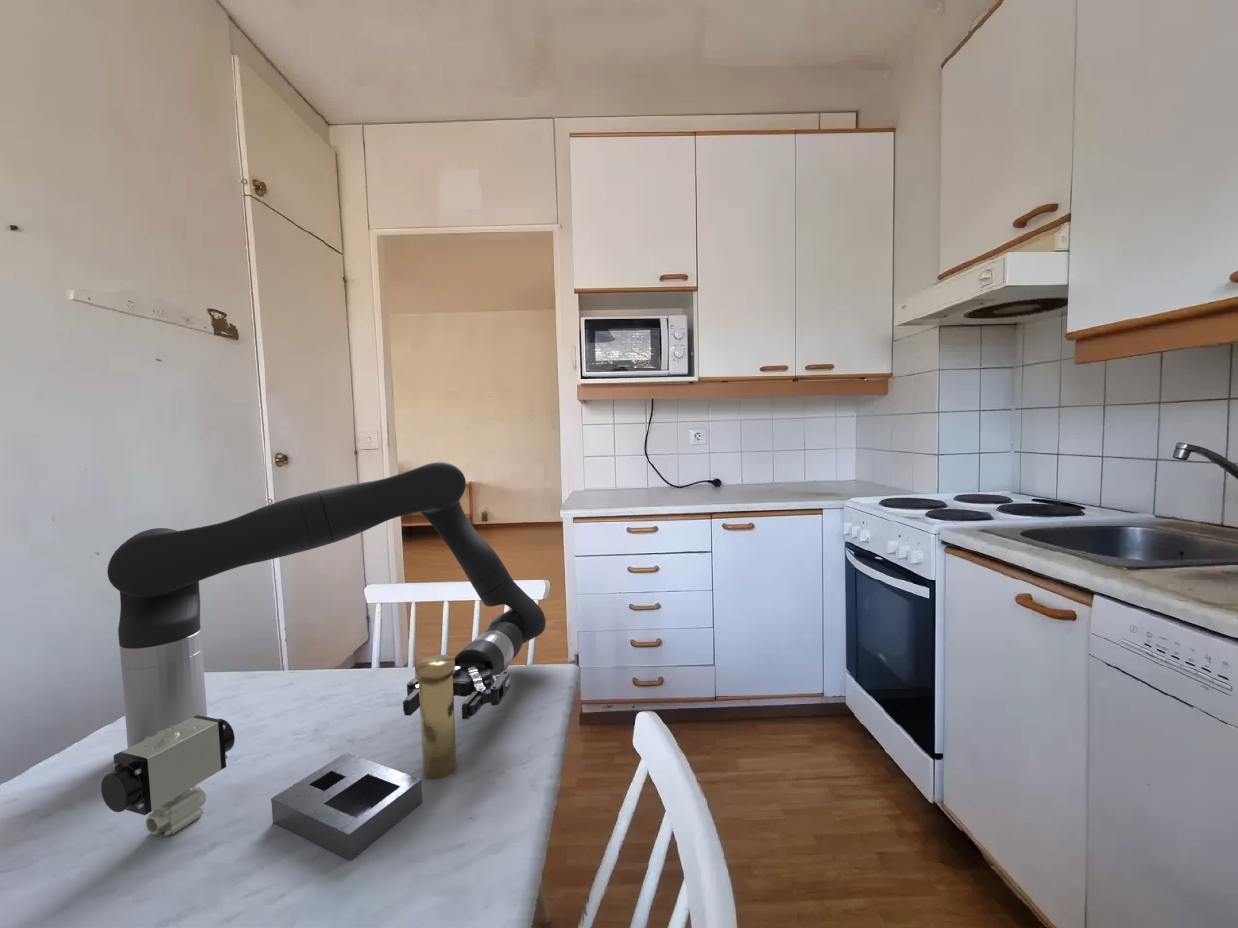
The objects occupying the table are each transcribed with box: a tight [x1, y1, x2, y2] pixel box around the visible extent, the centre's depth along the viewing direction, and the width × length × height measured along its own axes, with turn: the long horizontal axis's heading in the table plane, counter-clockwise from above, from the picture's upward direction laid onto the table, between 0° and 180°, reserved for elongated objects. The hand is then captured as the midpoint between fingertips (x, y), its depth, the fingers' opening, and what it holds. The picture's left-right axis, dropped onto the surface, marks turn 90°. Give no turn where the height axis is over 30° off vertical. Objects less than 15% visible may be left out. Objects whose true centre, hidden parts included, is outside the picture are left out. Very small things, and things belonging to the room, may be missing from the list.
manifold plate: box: [270, 752, 423, 862], centre depth 65 cm, size 14×10×3 cm
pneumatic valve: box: [100, 715, 236, 837], centre depth 63 cm, size 6×12×12 cm, turn 162°
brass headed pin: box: [414, 654, 458, 780], centre depth 72 cm, size 5×5×15 cm
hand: (435, 710), depth 72 cm, fingers open, 8 cm apart
